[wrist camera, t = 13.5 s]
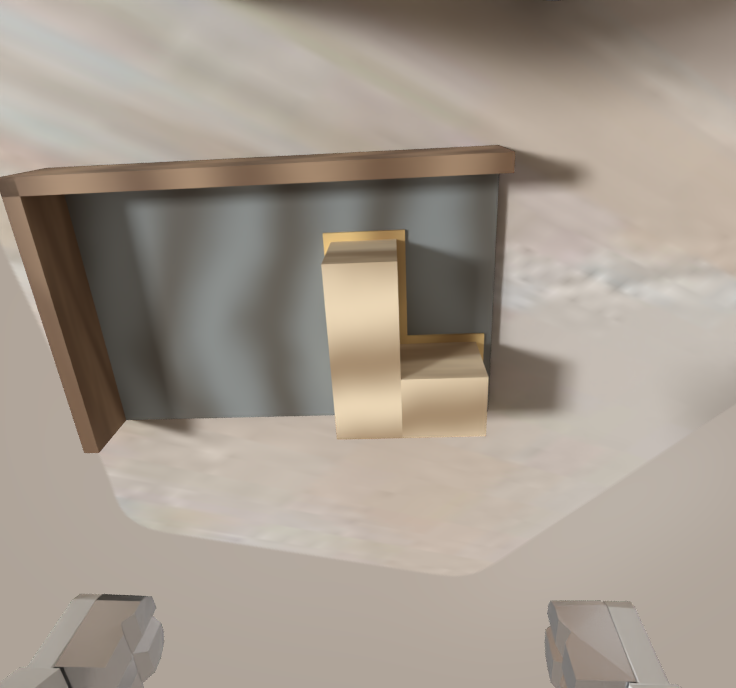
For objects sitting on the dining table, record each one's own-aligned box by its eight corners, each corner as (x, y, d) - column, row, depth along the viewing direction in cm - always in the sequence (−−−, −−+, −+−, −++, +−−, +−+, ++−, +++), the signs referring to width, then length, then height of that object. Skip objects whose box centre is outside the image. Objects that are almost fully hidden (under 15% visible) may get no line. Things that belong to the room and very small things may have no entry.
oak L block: (330, 242, 33) (321, 264, 28) (479, 235, 32) (493, 257, 28) (343, 398, 37) (337, 439, 33) (474, 394, 37) (485, 436, 32)
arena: (498, 145, 31) (515, 151, 27) (486, 407, 38) (498, 444, 34) (46, 167, 32) (-5, 177, 28) (116, 415, 40) (84, 453, 35)
